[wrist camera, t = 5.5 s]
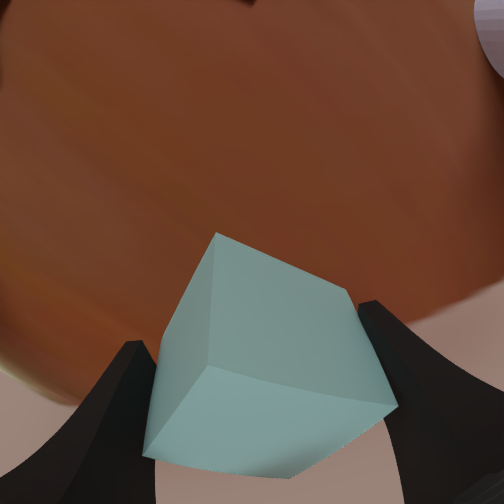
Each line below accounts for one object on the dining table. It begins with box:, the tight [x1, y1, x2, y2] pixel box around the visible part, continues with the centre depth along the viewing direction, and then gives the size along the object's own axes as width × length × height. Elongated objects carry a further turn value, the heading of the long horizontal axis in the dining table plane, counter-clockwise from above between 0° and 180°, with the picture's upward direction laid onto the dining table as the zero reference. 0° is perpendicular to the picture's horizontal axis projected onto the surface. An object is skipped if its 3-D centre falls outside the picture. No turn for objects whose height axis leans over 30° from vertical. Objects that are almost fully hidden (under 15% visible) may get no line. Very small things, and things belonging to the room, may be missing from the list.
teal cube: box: [142, 232, 398, 479], centre depth 9 cm, size 5×5×5 cm
